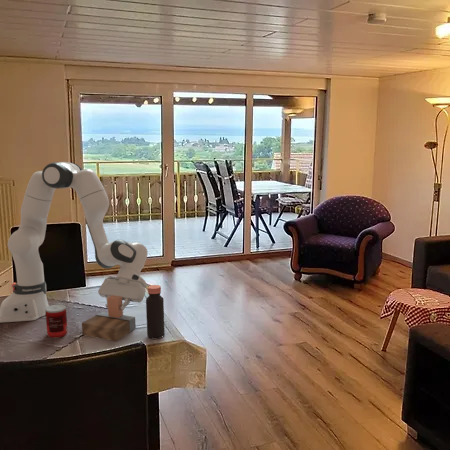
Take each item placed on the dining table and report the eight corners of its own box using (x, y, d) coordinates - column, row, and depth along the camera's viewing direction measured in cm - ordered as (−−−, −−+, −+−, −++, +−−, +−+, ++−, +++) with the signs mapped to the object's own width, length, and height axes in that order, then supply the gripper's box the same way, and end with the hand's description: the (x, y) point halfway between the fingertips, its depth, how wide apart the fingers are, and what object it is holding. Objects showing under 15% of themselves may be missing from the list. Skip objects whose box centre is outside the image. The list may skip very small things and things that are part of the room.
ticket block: (82, 334, 189) (81, 322, 188) (96, 326, 197) (96, 314, 196) (116, 341, 183) (115, 328, 182) (129, 332, 191) (129, 320, 190)
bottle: (148, 340, 184) (146, 290, 181) (146, 333, 191) (144, 284, 187) (166, 337, 186) (164, 288, 182) (163, 331, 193) (161, 283, 189)
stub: (97, 325, 198) (95, 296, 195) (103, 322, 201) (101, 293, 199) (130, 331, 192) (128, 301, 189) (135, 328, 195) (134, 298, 193)
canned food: (60, 328, 196) (58, 302, 194) (71, 333, 191) (70, 307, 189) (43, 334, 190) (41, 308, 188) (54, 339, 185) (52, 312, 183)
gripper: (103, 272, 203) (89, 301, 196) (144, 277, 195) (132, 308, 188) (110, 279, 208) (97, 308, 201) (150, 285, 200) (138, 315, 193)
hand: (114, 308), depth 194 cm, fingers closed on stub, 5 cm apart
